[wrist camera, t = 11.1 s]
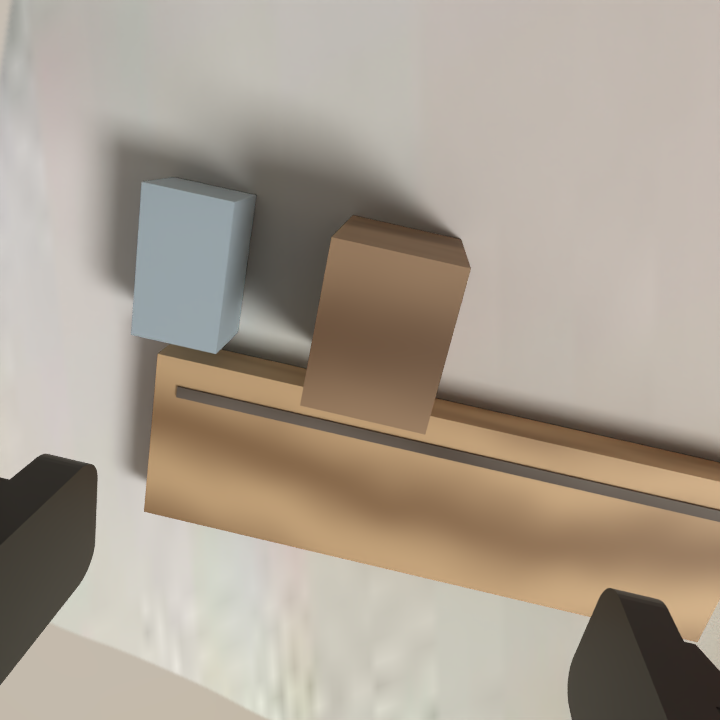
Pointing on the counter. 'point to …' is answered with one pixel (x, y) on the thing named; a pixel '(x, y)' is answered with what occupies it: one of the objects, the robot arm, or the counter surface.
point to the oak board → (435, 491)
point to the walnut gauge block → (385, 323)
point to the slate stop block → (191, 263)
